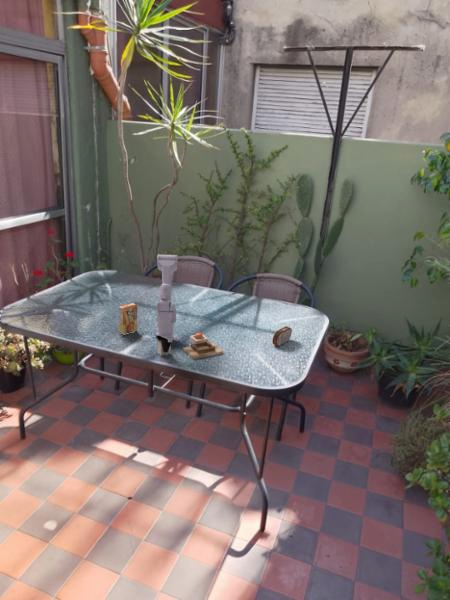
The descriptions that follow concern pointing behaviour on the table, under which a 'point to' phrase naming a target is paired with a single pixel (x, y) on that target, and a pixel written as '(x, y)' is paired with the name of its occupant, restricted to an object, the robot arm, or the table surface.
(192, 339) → the button housing
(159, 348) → the billet
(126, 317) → the candy box
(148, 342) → the table surface
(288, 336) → the sandwich
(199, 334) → the button
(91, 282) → the table surface
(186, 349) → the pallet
